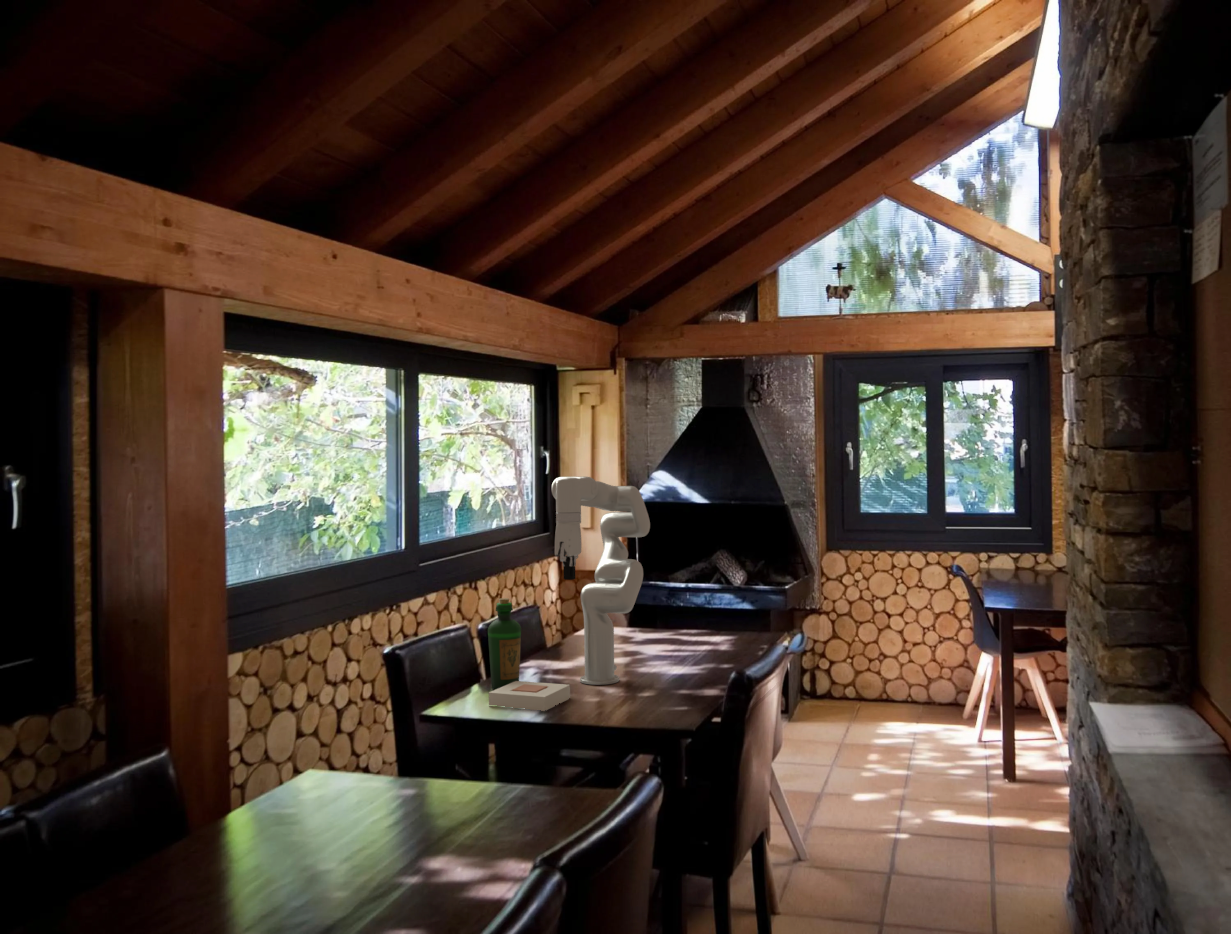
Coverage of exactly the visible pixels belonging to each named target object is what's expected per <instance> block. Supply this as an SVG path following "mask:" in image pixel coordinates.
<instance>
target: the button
mask: <svg viewBox="0 0 1231 934" xmlns="http://www.w3.org/2000/svg"><path fill="white" fill-rule="evenodd" d="M546 688H547V686H540V685H526V684H524V685H522V686H519V687H517V688H515V689H513V690H512V691H521V692H533V693H537V692H539V691H541V690H543V689H546Z"/></svg>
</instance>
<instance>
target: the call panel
mask: <svg viewBox="0 0 1231 934" xmlns="http://www.w3.org/2000/svg"><path fill="white" fill-rule="evenodd" d="M524 684H526V685H540V686H547V688H546V689H543V690H541V691H539V692H537V693H533V692H521V691H512V690H513V689H515V688H517V687H519V686H522V685H524ZM569 698H570V699H571V685H570V684H565V683H564V684H563V683H549V682H538V681H536V682H535V681H522V680H521V681H520V680H519V681H515V682H512V683H510V684H508V685H505V686H503V687H501V688H498V689H496V690H495V689H493V690H492V691H489V692H488V706H489V705H497V706H505V707H513V708H512V709H514V708H525V709H530V710H529V711H537V710H541V711H540V712H546V711H548V710H550V709H552V708H554V707H556V706H558V705H559V703H560V704H562V703H563V702H566V701H568V700H569ZM555 705H556V706H555ZM525 709H524V710H525ZM545 710H546V711H545Z"/></svg>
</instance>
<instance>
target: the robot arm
mask: <svg viewBox="0 0 1231 934" xmlns="http://www.w3.org/2000/svg"><path fill="white" fill-rule="evenodd" d="M551 495H552V496H553V498H554V499H555V511H556V512H555V515H556V516H555V517H556V518H555V523H556V526H555V534H554V556H555V557H559V561H560V562H562V567H563V568H562V569H563V580H565V581H566V580H568V581H573V580H576V566H577V565H576V564H577V560H578V558H579V555H580V554H581V553H582V531H581V524H582V507H587V508H595V509H599V510H602V511H606V512H607V513H605V514H603V515H602V516H601V519H600V521H599V522H600V523H599V527H600V534H601V540H602V544H603V545H602V546H603V550H602V553H601V556H600V558H599V560H598V563H597V566H596V567H595V572H594V581H595V582H590V583H587V584H585V585H584V586H583V587H582V589H581V592H580V603H581V607H582V614H583V627H584V629H583V631H584V632H583V635H584V646H583V647H584V675H582V676H581V677H579V681H580V683H582V684H585V685H590V686H591V685H592V686H593V685H595V686H596V685H598V686H599V685H600V686H601V685H602V686H603V685H604V686H605V685H613V684H616V683H619V682H620V677H619V675H616V674H615V671H616V670H617V669H618V667H617V665H616V664H615V633H614V632H615V629H614V623H613V621H612V619H611V618H610V616H609V615H608V614H628V613H630V612H631V611H633V609H634V605H635V603H636V601H637V598H638V595H639V592H640V590H641V587H642V584H643V580H644V568H643V566H642V563H641V562H639V561H638V560H637V559H632V558H628V557H629V551H628V548H627V547H626V545H625V544H624V542H622V540H620V538H642V537H646V536H647V535H648V534H649V532H650V529H651V522H650V517H649V513H648V510H647V507H646V504H645V500H644V499H643V496H642V494H641V492H640V490H639V489H638V488H637V487H636V486H633V485H612V484H608V483H605V482H603V481H599V480H596V479H594V478H593V477H591V476H559V477H556V478H555V479H554V480H553V482H552V484H551Z"/></svg>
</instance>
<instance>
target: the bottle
mask: <svg viewBox="0 0 1231 934" xmlns="http://www.w3.org/2000/svg"><path fill="white" fill-rule="evenodd" d="M513 609H514V608H513V604H512V602H511V601H510V598H507V597H504V598H503V597H502V598H498V602H497V603H496V606H495V611H496V612H497V618H496V619H495V620H494V621H492V622H491V623H490V625H489V626H488V628H487V638H488V639H487V641H488V653H489V655H488V656H489V665H490V666H489V667H490V668H489V669H490V683H491V688H492V689H493V690H495V689H498V688H501V687H503V686H505V685H508V684H510V683H512V682H515V681H520V667H521V666H520V665H521V664H520V663H521V641H522V640H521V638H522V637H521V636H522V626H521V624H520V623H519V621H516V620H515V619H514V618H512V616H511V615H512V611H513Z"/></svg>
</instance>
